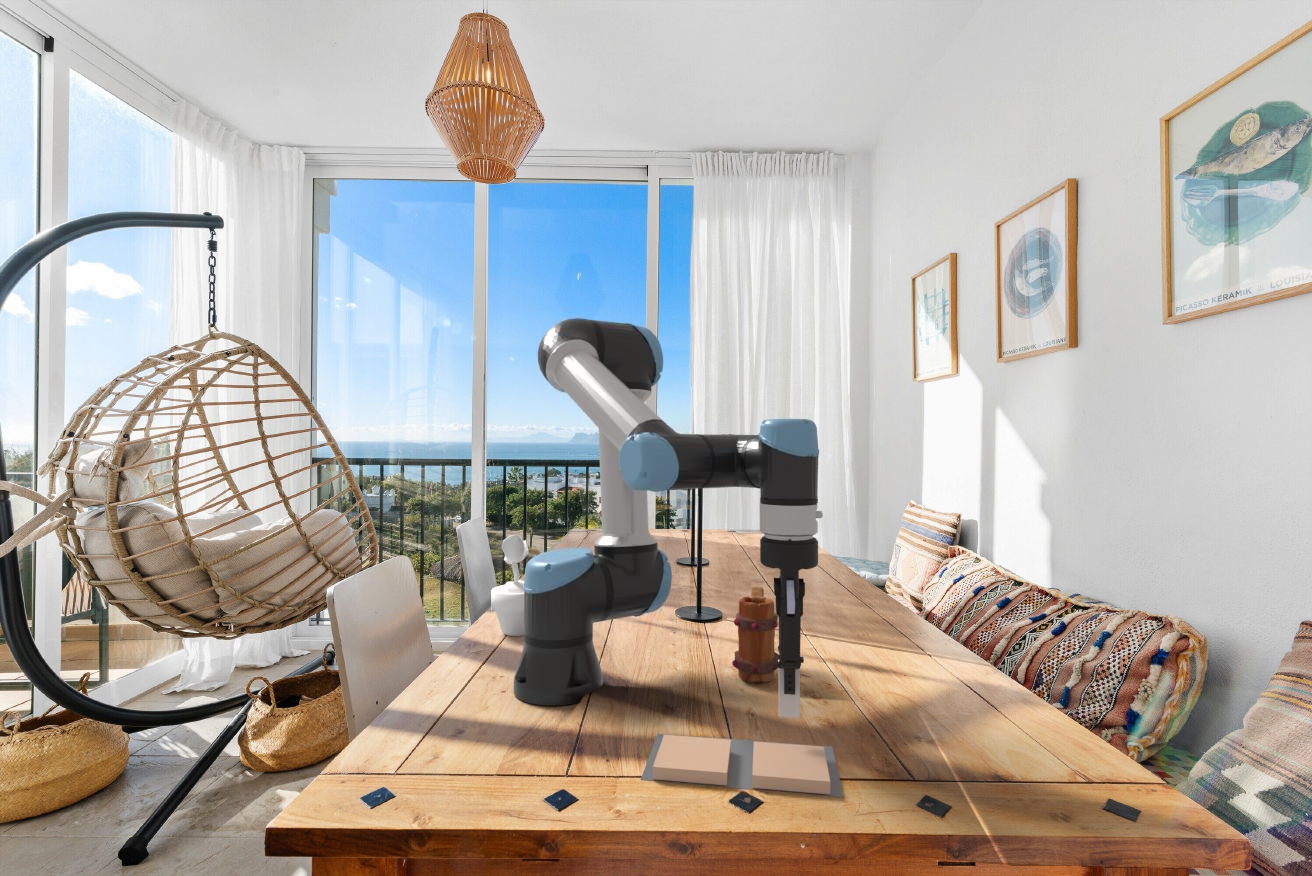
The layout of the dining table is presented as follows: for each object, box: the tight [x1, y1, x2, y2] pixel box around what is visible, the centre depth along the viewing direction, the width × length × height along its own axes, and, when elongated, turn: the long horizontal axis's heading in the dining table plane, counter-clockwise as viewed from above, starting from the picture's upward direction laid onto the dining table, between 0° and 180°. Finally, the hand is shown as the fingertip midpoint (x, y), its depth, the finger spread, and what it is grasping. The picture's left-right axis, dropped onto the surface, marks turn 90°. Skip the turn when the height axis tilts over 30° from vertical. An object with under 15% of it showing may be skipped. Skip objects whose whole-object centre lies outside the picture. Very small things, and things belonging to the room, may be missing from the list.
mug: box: [731, 586, 779, 684], centre depth 122 cm, size 15×8×15 cm, turn 168°
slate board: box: [640, 733, 844, 799], centre depth 86 cm, size 24×13×1 cm, turn 81°
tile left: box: [653, 734, 731, 785], centre depth 85 cm, size 9×2×9 cm
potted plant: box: [490, 528, 540, 637], centre depth 148 cm, size 13×12×25 cm
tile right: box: [752, 741, 830, 794], centre depth 83 cm, size 9×2×9 cm
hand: (789, 715), depth 87 cm, fingers closed
